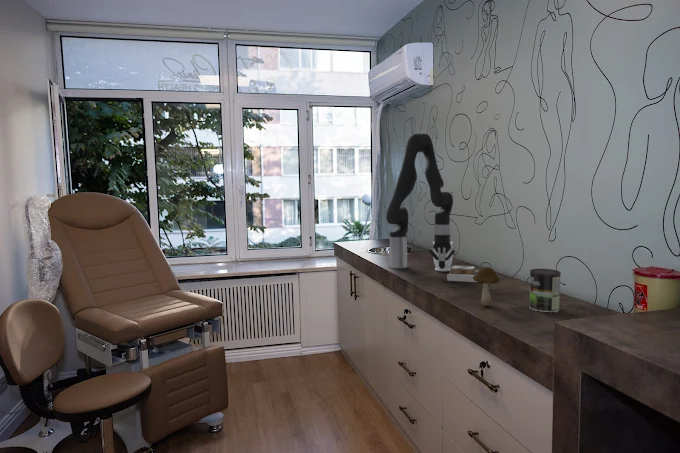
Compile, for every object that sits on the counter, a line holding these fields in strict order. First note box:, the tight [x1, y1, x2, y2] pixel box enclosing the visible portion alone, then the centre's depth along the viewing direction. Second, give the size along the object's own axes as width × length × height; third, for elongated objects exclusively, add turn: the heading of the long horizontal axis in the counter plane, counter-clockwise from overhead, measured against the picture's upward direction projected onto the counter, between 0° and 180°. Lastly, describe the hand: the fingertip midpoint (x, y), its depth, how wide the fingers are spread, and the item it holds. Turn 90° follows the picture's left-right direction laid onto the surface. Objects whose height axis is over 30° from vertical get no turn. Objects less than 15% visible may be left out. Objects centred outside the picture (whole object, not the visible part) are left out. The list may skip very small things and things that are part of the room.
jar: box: [432, 241, 454, 272], centre depth 240 cm, size 11×10×15 cm
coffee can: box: [528, 268, 562, 314], centre depth 167 cm, size 10×10×14 cm
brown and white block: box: [449, 265, 476, 275], centre depth 221 cm, size 11×7×6 cm, turn 71°
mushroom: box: [473, 266, 501, 307], centre depth 173 cm, size 9×11×15 cm
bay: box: [446, 269, 479, 283], centre depth 220 cm, size 15×12×3 cm
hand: (442, 268), depth 223 cm, fingers closed
